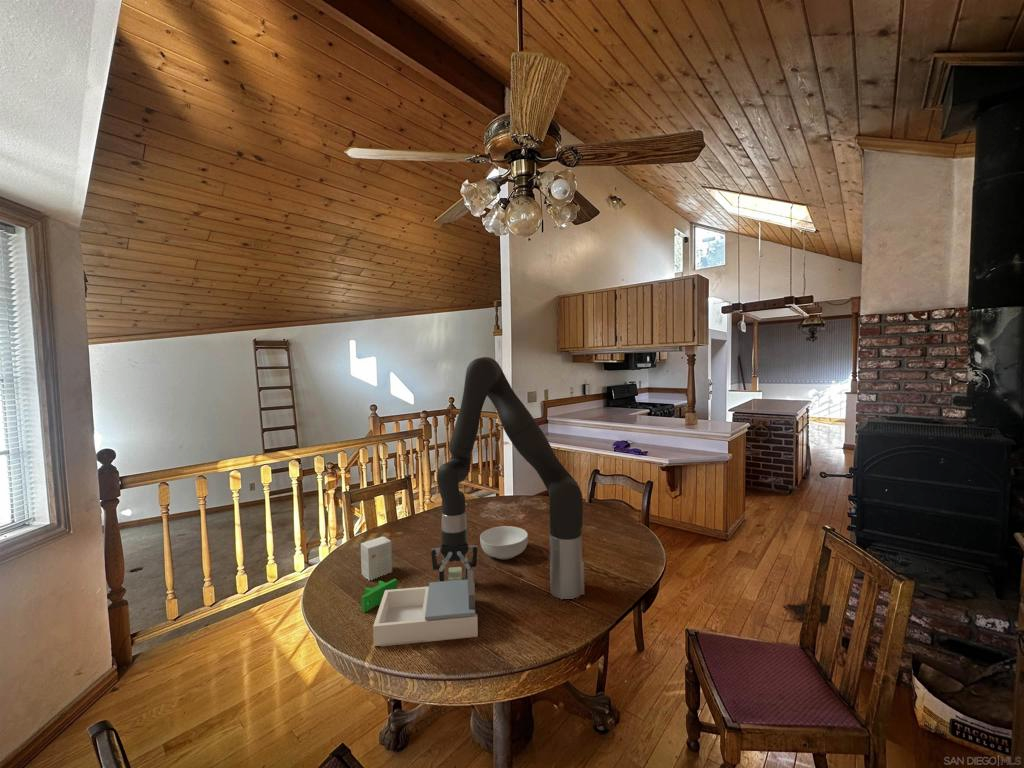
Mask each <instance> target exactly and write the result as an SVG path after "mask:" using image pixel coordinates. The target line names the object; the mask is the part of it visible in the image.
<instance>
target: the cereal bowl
mask: <svg viewBox="0 0 1024 768" xmlns="http://www.w3.org/2000/svg"><path fill="white" fill-rule="evenodd" d="M479 541H480V547H481V549H482V551H483V553H485V554H486V555H488V556H490V557H492V558H495V559H498V560H510V559H513V558H515V557H516V556H518V555H520V554H522V553H523V552H524V551H525V550H526V548H527V545H528V542H529V535H528V532H527V530H525V529H524V528H521V527H518V526H511V525H509V526H508V525H501V526H496V527H490V528H489V529H486V530H484V531H482V533H481V534H480V536H479Z"/></svg>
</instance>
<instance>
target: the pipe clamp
mask: <svg viewBox="0 0 1024 768" xmlns="http://www.w3.org/2000/svg"><path fill="white" fill-rule="evenodd" d="M377 583H378V585H376V586H374V587H368V586H367V587H365V588H364V594H363V595H361V596H360V597H361V601H360V602H361V612H362V611H363V612H366V611H367V612H369V611H370V609H371V608H373V607H374V608H375V606H376V607H378V606H380V604H381V601H382V598H383V595H384V592H385V590H393V589H398V579H396V578H393V579H391V580H389V581H387V582H386V581H385V582H384V581H383V580H378V581H377ZM377 605H378V606H377ZM374 608H373V609H374ZM368 610H369V611H368ZM371 610H372V609H371ZM363 612H362V613H363ZM367 612H366V613H367Z"/></svg>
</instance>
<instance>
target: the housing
mask: <svg viewBox="0 0 1024 768" xmlns="http://www.w3.org/2000/svg"><path fill="white" fill-rule="evenodd" d="M475 585H476V584H475V582H474V592H475V593H476V590H475V589H476V587H475ZM428 590H429V585H428V586H419V587H406V588H397V589H393V590H385V592H384V595H383V598H382V601H381V604H379V608H378V610H377V613H376V617H375V620H374V623H373V625H372V632H373V633H372V634H373V635H372V636H373V647H374V646H380V647H386V646H387V647H390V646H397V645H408V644H409V645H410V644H418V643H428V642H436V641H437V642H438V641H446V640H448V641H449V640H459V639H465V638H466V639H468V638H477V637H479V636H478V635H479V634H478V632H479V631H478V627H479V626H478V625H479V624H478V613H475V616H465V617H454V618H444V619H433V620H425V613H426V605H427V597H428Z"/></svg>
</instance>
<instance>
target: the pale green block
mask: <svg viewBox="0 0 1024 768" xmlns="http://www.w3.org/2000/svg"><path fill="white" fill-rule="evenodd" d="M462 569H463V568H462V566H455V567H448V575H447V581H454V580H463V574H462V573H463V571H462Z"/></svg>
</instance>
